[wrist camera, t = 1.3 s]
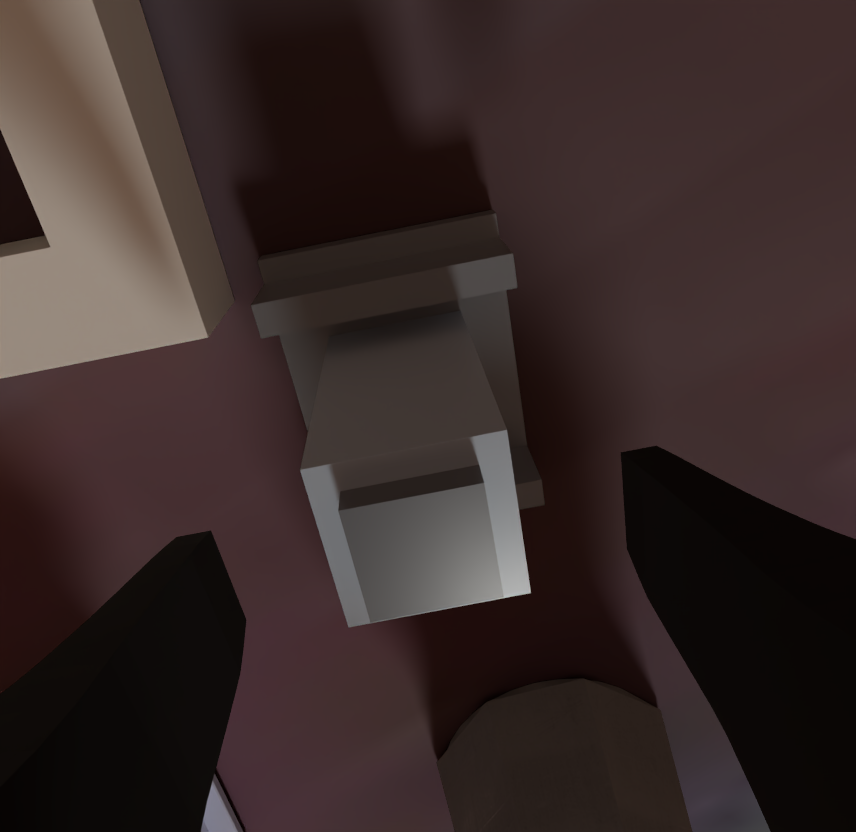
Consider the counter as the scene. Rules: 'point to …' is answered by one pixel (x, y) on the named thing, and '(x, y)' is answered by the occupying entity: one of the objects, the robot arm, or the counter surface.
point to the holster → (401, 306)
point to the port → (98, 193)
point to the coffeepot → (563, 763)
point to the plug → (412, 473)
